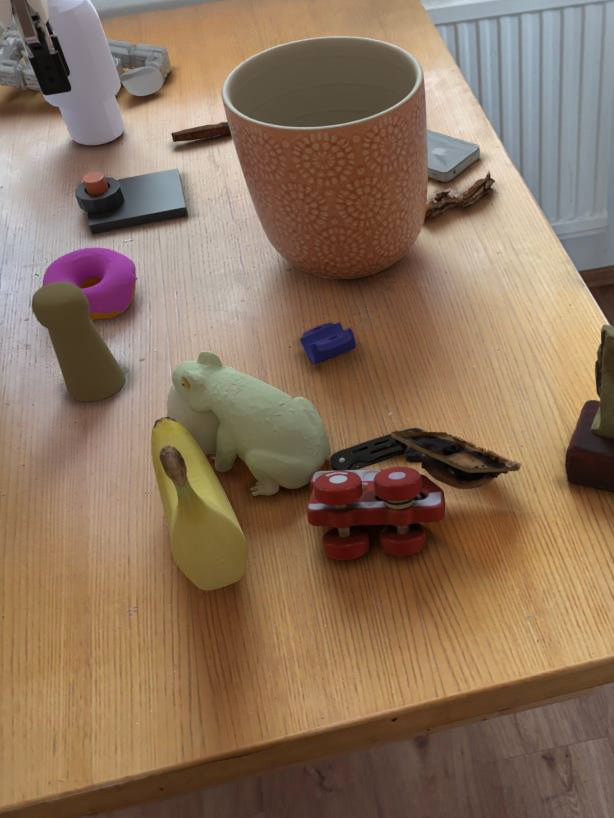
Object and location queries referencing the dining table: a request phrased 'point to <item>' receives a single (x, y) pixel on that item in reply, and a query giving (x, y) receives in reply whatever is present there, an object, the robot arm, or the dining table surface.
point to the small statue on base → (596, 425)
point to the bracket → (327, 342)
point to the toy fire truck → (374, 509)
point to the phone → (449, 156)
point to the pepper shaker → (77, 342)
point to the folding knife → (367, 453)
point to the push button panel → (134, 201)
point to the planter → (333, 150)
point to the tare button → (95, 183)
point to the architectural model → (148, 61)
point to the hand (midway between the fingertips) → (56, 83)
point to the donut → (97, 278)
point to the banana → (196, 509)
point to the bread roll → (453, 458)
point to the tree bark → (458, 197)
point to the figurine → (248, 423)
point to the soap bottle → (85, 74)
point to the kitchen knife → (201, 132)
